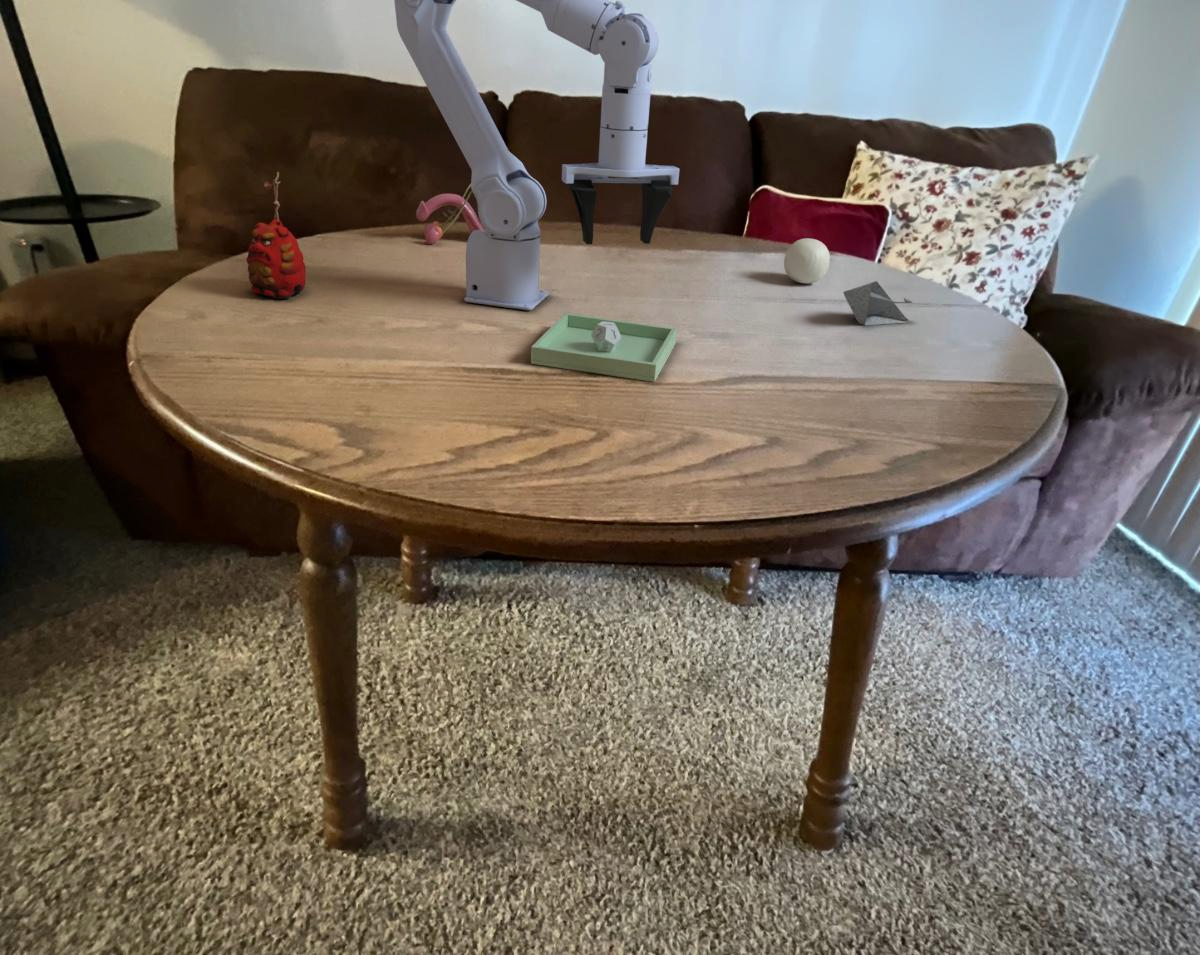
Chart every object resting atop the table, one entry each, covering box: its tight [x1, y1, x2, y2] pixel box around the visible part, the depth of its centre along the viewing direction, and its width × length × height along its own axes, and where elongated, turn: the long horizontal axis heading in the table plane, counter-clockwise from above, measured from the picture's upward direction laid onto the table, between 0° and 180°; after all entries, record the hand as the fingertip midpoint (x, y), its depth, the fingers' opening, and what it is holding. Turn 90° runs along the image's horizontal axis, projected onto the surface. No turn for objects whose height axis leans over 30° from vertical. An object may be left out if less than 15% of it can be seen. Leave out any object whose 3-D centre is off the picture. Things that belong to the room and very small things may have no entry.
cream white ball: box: [783, 237, 831, 285], centre depth 130 cm, size 7×7×7 cm
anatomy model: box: [415, 183, 485, 245], centre depth 141 cm, size 10×14×15 cm
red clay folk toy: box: [245, 171, 307, 300], centre depth 109 cm, size 8×7×15 cm
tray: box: [530, 312, 678, 383], centre depth 99 cm, size 14×13×2 cm
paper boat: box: [843, 280, 914, 326], centre depth 113 cm, size 12×6×9 cm
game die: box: [591, 321, 622, 352], centre depth 98 cm, size 4×4×3 cm
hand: (616, 242), depth 108 cm, fingers open, 7 cm apart
